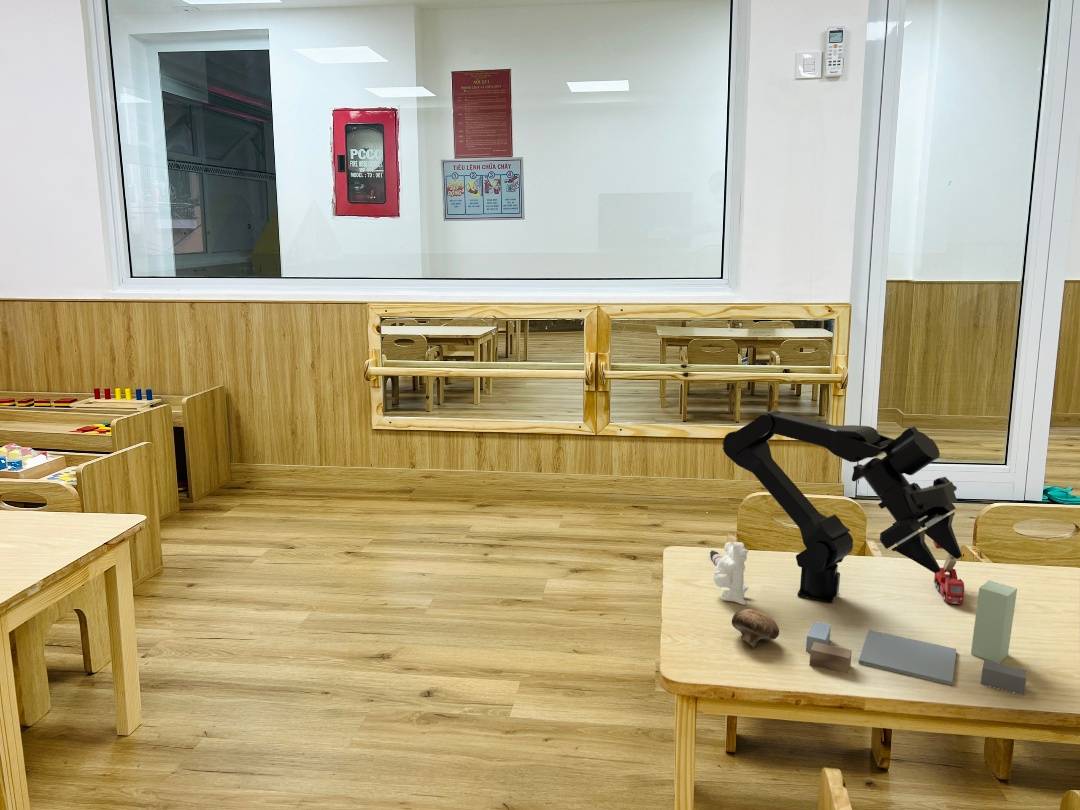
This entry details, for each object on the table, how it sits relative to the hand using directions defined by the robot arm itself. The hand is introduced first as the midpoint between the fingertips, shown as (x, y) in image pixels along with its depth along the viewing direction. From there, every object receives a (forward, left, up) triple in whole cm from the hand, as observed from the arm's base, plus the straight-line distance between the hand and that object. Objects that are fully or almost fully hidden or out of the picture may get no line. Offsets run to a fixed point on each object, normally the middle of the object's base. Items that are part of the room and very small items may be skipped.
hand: (949, 564), depth 146 cm
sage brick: (+8, -2, -14) cm, 16 cm away
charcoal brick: (+10, -12, -14) cm, 21 cm away
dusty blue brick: (-18, -13, -14) cm, 27 cm away
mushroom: (-28, -17, -14) cm, 36 cm away
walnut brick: (-15, -19, -14) cm, 28 cm away
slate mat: (-4, -10, -14) cm, 18 cm away
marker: (-42, +11, -14) cm, 46 cm away
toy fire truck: (0, +22, -14) cm, 26 cm away
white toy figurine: (-36, -2, -14) cm, 39 cm away
